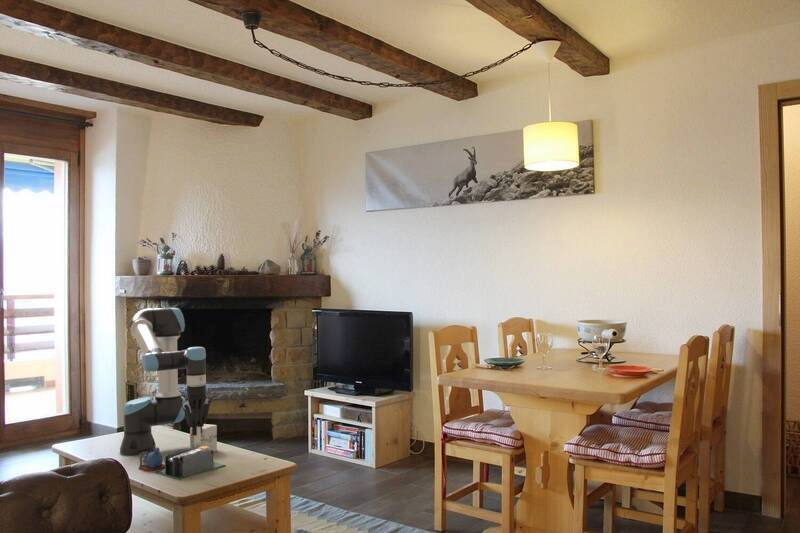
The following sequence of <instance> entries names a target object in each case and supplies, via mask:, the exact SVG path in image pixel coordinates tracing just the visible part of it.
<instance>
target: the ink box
mask: <svg viewBox="0 0 800 533" xmlns="http://www.w3.org/2000/svg"><path fill="white" fill-rule="evenodd" d="M217 428H218V425H217V424H207V423H206V424H204V426H203V427H202V434H201V443H198V444H197V443H194V435H192V427H190V428H189V440H190V441H189V446H190V447H189V448H191V447H198V448H199V447H201V446H207V447H209V448H210V450H213V453H214V452H216V451H217V450H218V445H217V442H218V441H217V440H218V437H217V436H218V433H217V432H218V429H217Z"/></svg>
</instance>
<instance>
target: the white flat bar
mask: <svg viewBox="0 0 800 533" xmlns="http://www.w3.org/2000/svg"><path fill="white" fill-rule="evenodd" d="M204 450H210V448H209V447H207V446H201V447H199V448H197V449H194V450H191V451H188V452H185V453H182V454H180V455H177V456H174V457H171V458H168V459H167V461H169V462H173V458H175V457H179V460H180V456H184V455H188V454H192V453H196V452H200V451H204Z"/></svg>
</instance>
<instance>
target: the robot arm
mask: <svg viewBox="0 0 800 533" xmlns="http://www.w3.org/2000/svg"><path fill="white" fill-rule="evenodd" d="M185 327H186V324H185V318H184V314H183V312H182V310H181V309H180V308H178V307H158V308H155V307H154V308H143V309H141V310H139V311H137V312H136V313H135V314H133V316H132V317H131V318H130V320H129V323H128V329H129V330H128V331H129V333H130V334H131V336H132V337H133V338H135V340H136V341H137V343H138V346H139V347H140V350H141V351H142V353H143V354H142V357H141V364H142V369H143V371H144V372H153V373H154V372H157V375H158V376H157V377H158V380H157V383H158V392H157V393H156V394H155V395H154V399H153V400H152V398H151V397H140V398H136V399H135V398H134V399H132V400H129V401H127V402H125V403H124V406H123V413H122V414H123V436H122V440H121V444H120V447H119V454H121V455H124V456H138V455H139V456H140V453H143V452H147V451H148V454H150V453H151V452H154V451H155V448H157V447H156V446H157V445H156V441H155V439H154V436H153V434H152V427H154V426H161V425H170V424H171V425H173V424H176V423H180V422H181V421H183V420H184V418H185V420H186V424H187V427H190V428H191V427H192V435H194V443H197V444H198V443H201V434H202V427H203V426H204V424H207V421H208V416H209V409H210V405H211V404H212V400H211V399H209V398H207V396H206V394H207V385H206V384H207V377H206V374H207V363H206V362H207V360H206V358H207V354H206V353H207V352H206V348H205V347H203V346H191V347H188V348H187V349H182V350H178V340H179V338H180V337H181V333H183V332H184V331H185ZM181 369H182V370H183V369H186V385H187V386H186V395H187V398H185V397H184V396H182V393H181V392H180V391H179V387H178V386H179V385H178V384H179V379H178V378H179V377H178V376H179V375H178V374H179V373H178V370H181Z"/></svg>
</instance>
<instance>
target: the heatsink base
mask: <svg viewBox="0 0 800 533" xmlns="http://www.w3.org/2000/svg"><path fill="white" fill-rule="evenodd" d="M197 448H198V447H191V448H190V447H188V448H184V449H180V450H176V451H171V452H168V453H166V455H164V465H165V469H163V470H159V471H155V474H157V475H158V474H159V475H160V476H165V477H167V478H173V479H175V480H181V479H186V478H190V477H192V476H195V475H199V474H200V475H201V474H203V473H207V472H210V471H214V470H217V469H220V468H224V467H226V466H227V465H226V464H224V463H220V462H217V461H214V452H213V450H204V451H200V452H196V453H192V454H188V455H184V456H180V460H179V457H175V458H173V462H169V461H167V459H168V458H171V457H174V456H177V455H180V454H182V453H185V452H188V451H191V450H194V449H197Z"/></svg>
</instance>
